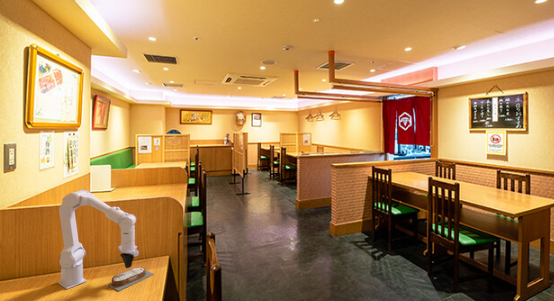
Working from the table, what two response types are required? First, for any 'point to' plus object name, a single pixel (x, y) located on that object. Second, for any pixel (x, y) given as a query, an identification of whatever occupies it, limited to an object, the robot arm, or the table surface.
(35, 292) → the table surface
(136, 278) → the tin
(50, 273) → the table surface
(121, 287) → the slate mat
